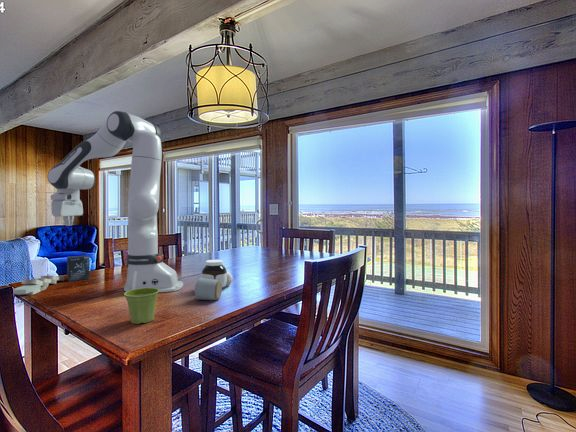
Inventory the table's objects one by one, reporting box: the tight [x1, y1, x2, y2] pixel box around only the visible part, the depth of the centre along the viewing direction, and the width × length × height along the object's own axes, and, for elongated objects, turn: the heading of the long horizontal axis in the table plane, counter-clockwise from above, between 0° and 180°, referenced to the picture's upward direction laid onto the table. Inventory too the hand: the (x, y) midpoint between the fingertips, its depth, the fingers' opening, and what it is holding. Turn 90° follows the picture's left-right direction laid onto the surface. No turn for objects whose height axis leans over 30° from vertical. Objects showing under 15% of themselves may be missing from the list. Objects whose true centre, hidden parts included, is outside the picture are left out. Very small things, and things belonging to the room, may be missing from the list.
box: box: [66, 254, 91, 282], centre depth 143 cm, size 8×6×11 cm
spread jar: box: [200, 259, 234, 290], centre depth 130 cm, size 12×11×12 cm
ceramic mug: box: [194, 277, 223, 301], centre depth 115 cm, size 11×8×8 cm
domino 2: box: [21, 278, 50, 288], centre depth 125 cm, size 5×2×8 cm
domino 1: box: [13, 284, 41, 295], centre depth 119 cm, size 5×2×8 cm
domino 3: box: [17, 286, 47, 296], centre depth 122 cm, size 5×2×8 cm
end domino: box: [39, 275, 65, 282], centre depth 136 cm, size 5×2×8 cm
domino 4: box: [32, 277, 58, 285], centre depth 131 cm, size 5×2×8 cm
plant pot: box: [123, 288, 160, 325], centre depth 92 cm, size 9×9×9 cm
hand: (68, 225), depth 149 cm, fingers closed
